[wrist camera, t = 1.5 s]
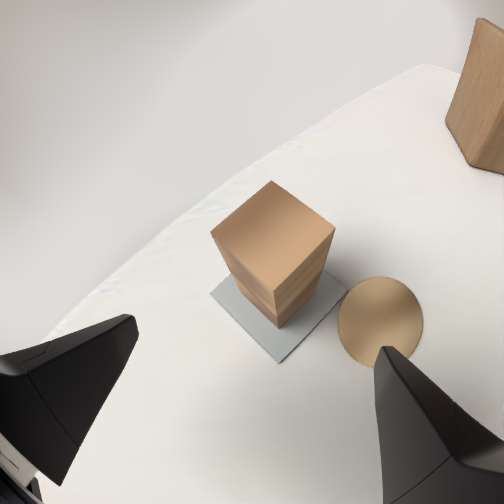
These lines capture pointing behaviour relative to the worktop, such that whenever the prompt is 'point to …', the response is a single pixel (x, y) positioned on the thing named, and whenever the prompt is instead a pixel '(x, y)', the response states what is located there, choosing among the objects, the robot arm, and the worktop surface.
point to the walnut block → (275, 251)
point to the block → (481, 100)
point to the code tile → (294, 328)
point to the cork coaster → (379, 319)
